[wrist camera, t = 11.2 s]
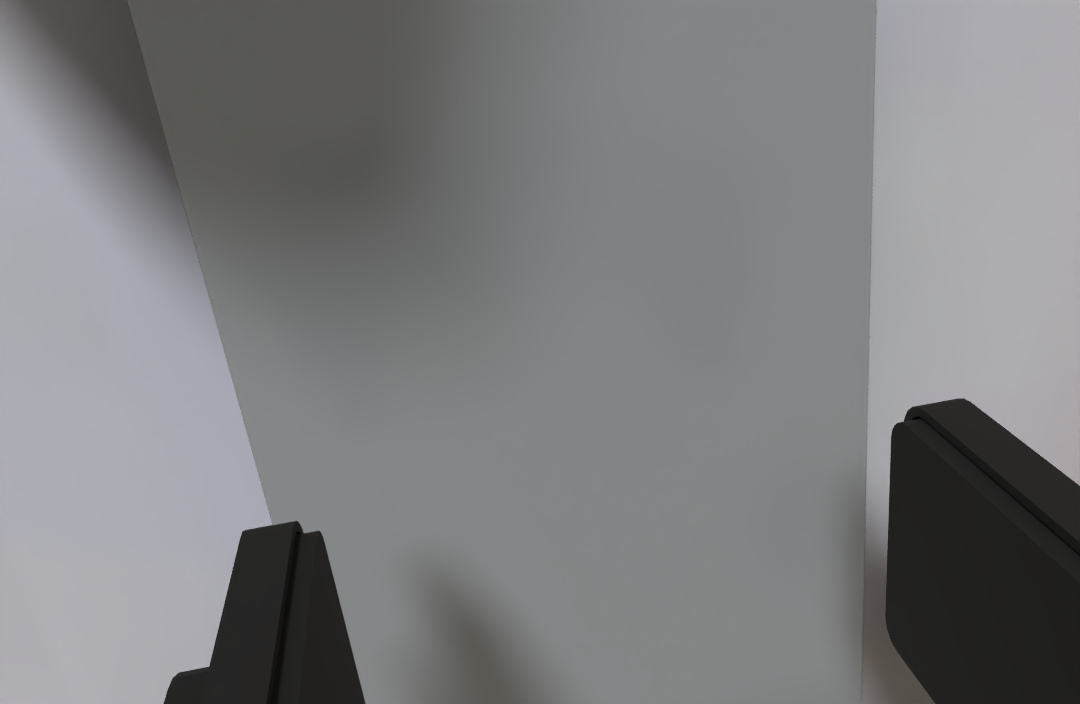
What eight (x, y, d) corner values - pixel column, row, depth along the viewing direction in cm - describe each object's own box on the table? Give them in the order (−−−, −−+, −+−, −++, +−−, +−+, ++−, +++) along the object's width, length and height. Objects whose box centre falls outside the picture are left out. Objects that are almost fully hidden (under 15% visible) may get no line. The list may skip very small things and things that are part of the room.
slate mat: (837, -154, 12) (879, -164, 11) (832, 674, 18) (860, 720, 17) (134, -64, 12) (108, -65, 11) (358, 771, 17) (356, 827, 16)
